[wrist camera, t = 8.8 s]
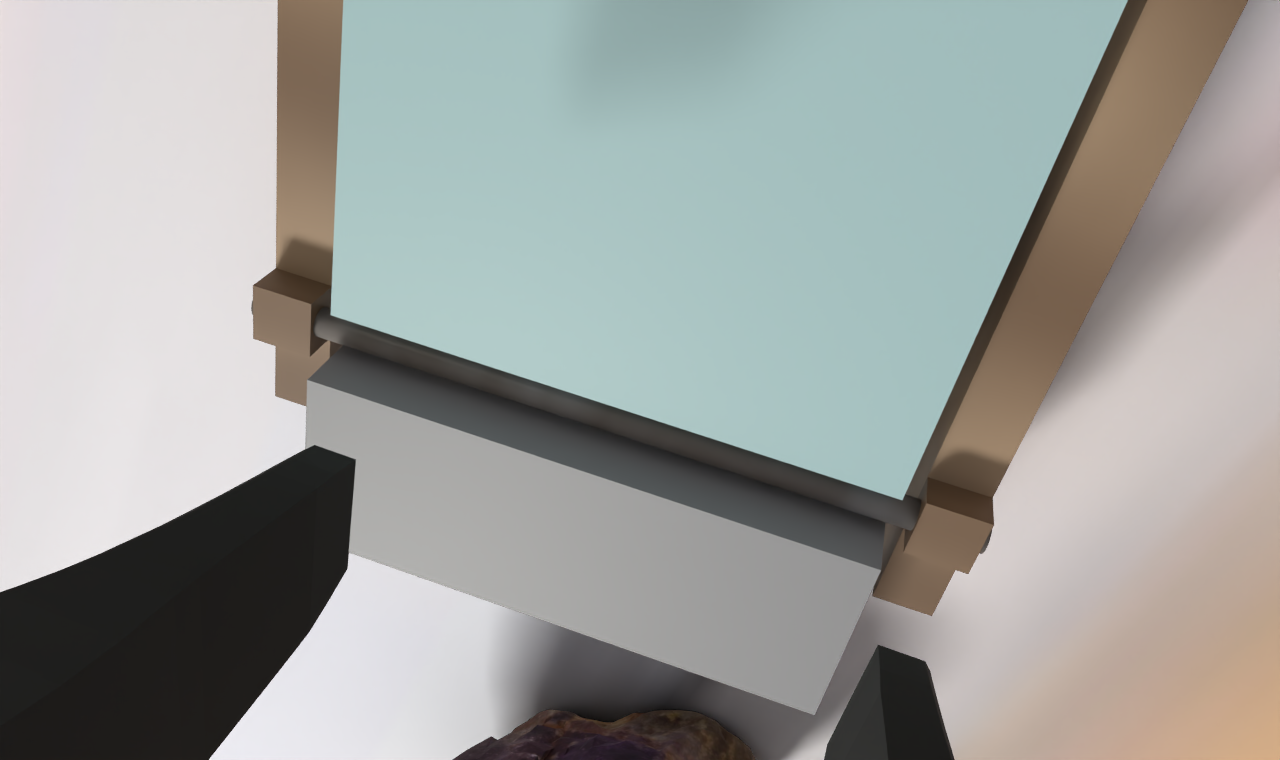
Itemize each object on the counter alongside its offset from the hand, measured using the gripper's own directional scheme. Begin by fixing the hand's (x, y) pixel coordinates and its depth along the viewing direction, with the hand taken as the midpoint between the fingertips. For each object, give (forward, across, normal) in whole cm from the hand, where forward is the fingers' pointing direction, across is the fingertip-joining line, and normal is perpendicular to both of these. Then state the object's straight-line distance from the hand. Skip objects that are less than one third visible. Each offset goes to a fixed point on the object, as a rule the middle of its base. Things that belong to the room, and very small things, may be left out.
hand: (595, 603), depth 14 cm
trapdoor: (+7, +1, -3) cm, 8 cm away
